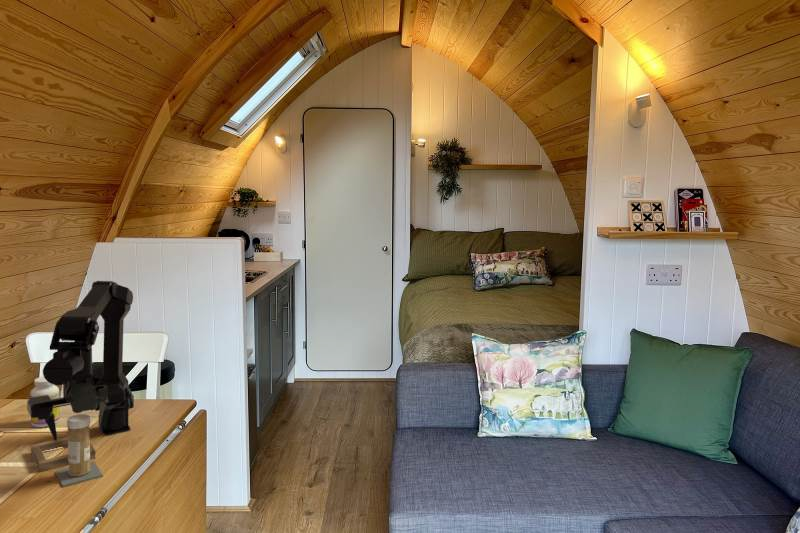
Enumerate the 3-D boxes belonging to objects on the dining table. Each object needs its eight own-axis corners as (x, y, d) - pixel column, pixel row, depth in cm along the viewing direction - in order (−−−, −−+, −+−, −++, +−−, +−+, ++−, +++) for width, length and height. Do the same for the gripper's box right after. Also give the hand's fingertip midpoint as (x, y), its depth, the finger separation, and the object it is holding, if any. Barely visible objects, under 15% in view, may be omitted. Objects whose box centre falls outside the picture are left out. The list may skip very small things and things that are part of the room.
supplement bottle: (25, 425, 149) (23, 380, 147) (47, 416, 155) (46, 373, 154) (43, 430, 147) (42, 384, 145) (65, 421, 153) (64, 377, 152)
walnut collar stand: (84, 440, 142) (83, 433, 142) (95, 458, 134) (95, 450, 134) (31, 452, 135) (30, 445, 134) (39, 472, 126) (39, 463, 126)
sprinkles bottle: (94, 472, 127) (93, 417, 125) (73, 479, 123) (72, 423, 121) (84, 465, 129) (84, 411, 128) (64, 472, 126) (63, 417, 124)
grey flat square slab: (94, 462, 132) (94, 461, 132) (102, 476, 126) (102, 474, 126) (55, 472, 126) (55, 470, 126) (62, 487, 121) (62, 485, 120)
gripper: (34, 388, 111) (36, 460, 113) (132, 372, 123) (132, 437, 125) (25, 372, 119) (27, 440, 121) (118, 359, 131) (118, 421, 133)
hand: (78, 435), depth 125 cm, fingers open, 9 cm apart
